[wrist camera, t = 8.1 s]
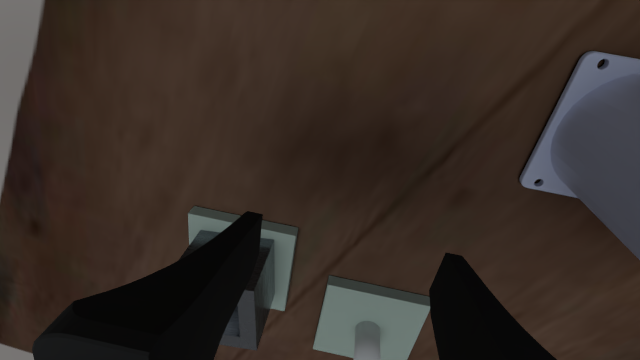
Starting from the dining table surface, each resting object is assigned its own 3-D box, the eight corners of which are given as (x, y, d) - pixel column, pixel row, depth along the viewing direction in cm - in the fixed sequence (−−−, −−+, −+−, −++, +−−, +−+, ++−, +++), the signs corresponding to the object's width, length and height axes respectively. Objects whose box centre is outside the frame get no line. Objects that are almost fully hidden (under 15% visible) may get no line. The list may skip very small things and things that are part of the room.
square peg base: (298, 227, 26) (285, 270, 22) (286, 301, 30) (273, 349, 26) (194, 206, 26) (162, 244, 22) (196, 281, 30) (170, 325, 26)
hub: (274, 239, 25) (253, 291, 21) (274, 294, 28) (256, 350, 24) (200, 229, 26) (165, 278, 21) (208, 284, 29) (178, 337, 24)
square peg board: (429, 296, 27) (438, 348, 23) (401, 358, 31) (406, 411, 27) (329, 275, 28) (322, 322, 24) (314, 339, 32) (306, 388, 28)
